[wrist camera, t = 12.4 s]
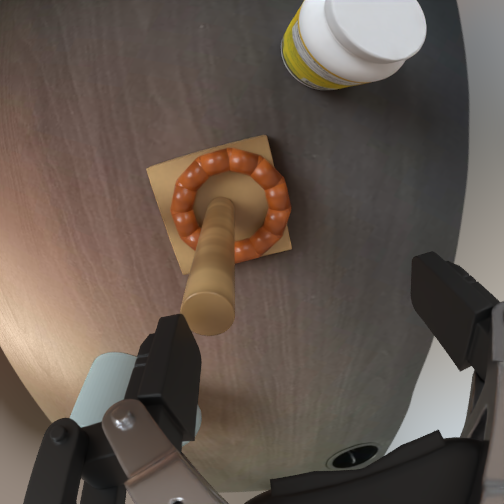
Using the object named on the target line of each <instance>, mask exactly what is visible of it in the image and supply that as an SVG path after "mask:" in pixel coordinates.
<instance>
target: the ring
mask: <svg viewBox="0 0 504 504" xmlns="http://www.w3.org/2000/svg"><path fill="white" fill-rule="evenodd" d="M228 171H232V172H236V173H240V174H244V175H248V176H250V177H251V178H252V179H253V180H254V181H256V182H257V183H258V184H259V185H260V186H261V187H262V188H263V189H264V192H265V196H266V200H267V204H268V211H267V214H266V218H265V221H264V224H263V226H262V227H261V228H259V229H258V230H257V231H256V232H255V233H254V234H253V235H252V236H251V237H250V238H246V239H243V240H239V241H235V264H236V263H240V262H244V261H247V260H251V259H255V258H259V257H261V256H262V255H263V254H264V253H266V252H267V251H268V250H269V249H270V248H271V247H272V246H273V245H274V244H275V243H276V242H278V241H279V240H280V239H281V238H282V236H283V234H284V231H285V228H286V225H287V222H288V218H289V215H290V212H291V203H290V199H289V194H288V190H287V186H286V182H285V179H284V177H283V176H282V175H281V174H280V173H279V172H278V171H277V170H276V169H275V168H274V167H273V166H272V165H271V164H270V163H269V162H268V161H267V160H266V159H265V158H264V157H263V156H261V155H259V154H255V153H251V152H247V151H243V150H239V149H235V148H225V149H221V150H218V151H214V152H211V153H208V154H204V155H201V156H199V157H197V158H196V159H195V160H194V161H193V162H192V163H191V164H190V165H189V166H188V168H187V169H186V170H185V171H184V172H183V173H182V174H181V175H180V176H179V177H178V179H177V180H176V183H175V187H174V192H173V197H172V203H171V208H170V212H171V215H172V218H173V221H174V223H175V226H176V229H177V231H178V234H179V237H180V239H181V240H182V241H183V242H184V243H186V244H187V245H188V246H189V247H190V248H191V249H193V250H194V251H195V250H196V247H197V243H198V239H199V236H200V232H201V229H202V228H200V227H199V225H198V222H197V219H196V216H195V214H194V211H193V206H194V201H195V197H196V192H197V190H198V189H199V188H200V187H201V186H202V185H203V184H204V183H205V182H206V181H207V180H208V179H209V177H211V176H214V175H218V174H221V173H225V172H228Z"/></svg>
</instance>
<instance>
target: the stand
mask: <svg viewBox="0 0 504 504" xmlns="http://www.w3.org/2000/svg"><path fill="white" fill-rule="evenodd" d="M225 148H235V149H239V150H243V151H247V152H251V153H255V154H259V155H261V156H263V157H264V158H265V159H266V160H267V161H268V162H269V163H270V164H271V165H272V166H273V167H274V163H273V159H272V155H271V150H270V146H269V142H268V138H267V136H266V135H261V136H257V137H252V138H248V139H244V140H240V141H236V142H232V143H228V144H224V145H220V146H217V147H213V148H209V149H206V150H202V151H199V152H195V153H192V154H188V155H185V156H181V157H178V158H175V159H172V160H168V161H165V162H162V163H159V164H156V165H153V166H150V167H149V168H147V169H146V170H147V173H148V176H149V180H150V183H151V186H152V189H153V192H154V195H155V198H156V201H157V204H158V207H159V210H160V213H161V216H162V219H163V222H164V224H165V227H166V230H167V233H168V236H169V239H170V241H171V244H172V247H173V250H174V252H175V255H176V258H177V260H178V263H179V266H180V268H181V271H182V274H183V275H185V274H189V277H188V281H187V285H186V288H185V292H184V296H183V300H182V305H181V309H180V314H183V315H184V317H185V318H186V321H187V323H188V325H189V327H190V330H191V331H193V332H195V333H197V334H200V335H204V336H214V335H219V334H221V333H223V332H225V331H226V330H228V329H229V328H230V327H231V325H232V324H233V322H234V319H235V241H239V240H243V239H246V238H250V237H251V236H252V235H253V234H254V233H255V232H256V231H257V230H258V229H259V228H261V227H262V226H263V224H264V221H265V218H266V214H267V211H268V204H267V200H266V196H265V192H264V189H263V188H262V187H261V186H260V185H259V184H258V183H257V182H256V181H254V180H253V179H252V178H251V177H250V176H248V175H244V174H240V173H236V172H232V171H228V172H225V173H221V174H218V175H214V176H211V177H209V179H208V180H207V181H206V182H205V183H204V184H203V185H202V186H201V187H200V188H199V189H198V190H197V192H196V197H195V201H194V206H193V211H194V214H195V216H196V219H197V222H198V225H199V227H200V228H202V229H201V232H200V236H199V239H198V243H197V247H196V250H195V251H194V250H193V249H191V248H190V247H189V246H188V245H187V244H186V243H184V242H183V241H182V240H181V239H180V237H179V234H178V231H177V229H176V226H175V223H174V221H173V218H172V215H171V212H170V208H171V203H172V197H173V192H174V187H175V183H176V180H177V179H178V177H179V176H180V175H181V174H182V173H183V172H184V171H185V170H186V169H187V168H188V166H189V165H190V164H191V163H192V162H193V161H194V160H195V159H196V158H197V157H199V156H201V155H204V154H208V153H211V152H214V151H218V150H221V149H225ZM290 249H292V246H291V241H290V236H289V231H288V227H287V225H286V228H285V231H284V234H283V236H282V238H281V239H280V240H279V241H278V242H276V243H275V244H274V245H273V246H272V247H271V248H270V249H269V250H268V251H267V252H266V253H264V254H263V255H262V256H265V255H269V254H274V253H278V252H282V251H286V250H290Z"/></svg>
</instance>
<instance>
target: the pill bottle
mask: <svg viewBox="0 0 504 504" xmlns="http://www.w3.org/2000/svg"><path fill="white" fill-rule="evenodd" d="M425 37H426V21H425V17H424V14H423V12H422V9H421V7H420V5H419V3H418V2H417V0H304V2H303V3H302V5H301V7H300V8H299V10H298V11H297V13H296V15H295V16H294V18H293V20H292V21H291V23H290V25H289V26H288V28H287V30H286V32H285V34H284V36H283V39H282V43H281V54H282V58H283V61H284V64H285V66H286V68H287V69H288V71H289V72H290V73H291V75H292V76H293V77H294V78H295V79H297V80H298V81H299V82H301V83H302V84H304V85H306V86H308V87H310V88H314V89H318V90H336V89H341V88H345V87H350V86H354V85H359V84H365V83H370V82H375V81H379V80H382V79H385V78H387V77H389V76H391V75H393V74H394V73H395V72H396V71H397V70H398V69H399V68H400V67H401V66H402V65H403V63H404V62H405V60H406V59H408V58H410V57H412V56H413V55H415V54H416V53H417V52H418V51H419V50H420V48H421V47H422V45H423V43H424V40H425Z"/></svg>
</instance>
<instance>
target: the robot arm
mask: <svg viewBox="0 0 504 504" xmlns="http://www.w3.org/2000/svg"><path fill="white" fill-rule="evenodd" d="M411 300H412V304H413V307H414V309H415V311H416V312H417V313H418V314H419V316H420V317H421V318H422V320H423V321H424V322H425V324H426V325H427V326H428V328H429V329H430V330H431V332H432V333H433V334H434V336H435V337H436V338H437V340H438V341H439V342H440V344H441V345H442V346H443V348H444V349H445V350H446V352H447V353H448V355H449V356H450V358H451V359H452V360H453V362H454V363H455V365H456V366H457V368H458V369H459V370H460V371H462V370H464V369H466V368H468V367H470V366H472V367H473V368H474V369H475V370H474V373H473V377H472V384H471V391H470V398H469V405H468V410H467V416H466V421H465V425H464V428H463V431H462V433H461V436H460V437H459V438H457V437H456V438H455V437H454V438H445V439H443V437H442V436H441V433H440V432H439V430H437V431H434V432H432V433H430V434H428V435H425V436H423V437H420V438H418V439H416V440H413V441H411V442H408V443H406V444H403V445H401V446H400V447H398V448H396V449H395V450H393V451H392V452H390V453H388V454H387V455H385V456H384V457H382V458H380V459H379V460H377V461H375V462H374V463H372V464H370V465H368V466H367V467H365V468H362V469H357V470H342V471H313V472H309V473H304V474H299V475H294V476H288V477H283V478H277V479H270V483H271V490H268V491H266V492H263V493H261V494H259V495H257V496H255V497H254V498H252V499H250V500H249V501H247V502H246V503H245V504H504V302H499V301H498V300H497V299H496V298H495V297H494V296H493V295H492V294H491V293H490V292H489V291H487V290H486V289H485V288H484V287H483V286H482V285H481V284H480V283H479V282H476V280H475V279H474V278H473V277H472V276H469V274H468V273H467V272H466V271H465V270H464V269H463V268H461V267H460V266H458V265H456V264H453V263H451V262H449V261H444V260H443V259H442V258H441V257H440V256H439V255H437V254H436V253H435V252H428V253H425V254H422V255H418V256H415V257H413V259H412V275H411ZM137 357H138V358H136V361H135V364H134V366H135V367H134V368H133V371H132V374H131V377H130V380H129V383H128V386H127V390H126V393H125V396H124V400H121V401H118V402H117V403H115V404H113V405H112V406H111V407H110V408H109V409H108V410H107V411H106V412H105V414H104V416H103V419H102V422H98V423H95V424H92V425H89V426H85V427H82V428H81V427H80V426H79V425H78V424H77V423H76V422H75V421H74V420H73V419H70V418H62V419H59V420H57V421H55V422H54V423H52V424H51V425H50V426H49V427H48V429H47V430H46V432H45V434H44V437H43V440H42V443H41V446H40V449H39V452H38V455H37V458H36V461H35V464H34V467H33V471H32V474H31V477H30V481H29V484H28V488H27V491H26V495H25V499H24V503H23V504H76V500H77V494H78V489H79V484H80V479H81V478H82V479H83V480H84V485H83V490H82V496H81V501H80V504H125V498H126V490H127V491H128V493H129V495H130V496H131V498H132V500H133V501H134V503H135V504H228V502H227V501H226V500H224V498H222V497H221V496H220V495H219V494H218V492H217V491H216V490H215V489H214V488H213V487H212V486H211V485H210V484H209V483H208V482H207V481H206V480H205V478H204V477H203V476H202V475H201V474H200V473H199V472H198V470H197V469H196V468H195V467H194V466H193V465H192V463H191V462H190V461H189V460H188V459H187V457H186V456H185V455H184V454H183V453H182V452H181V450H182V442H185V441H195V428H196V416H197V405H198V394H199V383H200V373H201V354H200V350H199V347H198V345H197V343H196V341H195V339H194V336H193V334H192V332H191V330H190V327H189V325H188V323H187V321H186V318H185V317H184V315H183V314H176V315H171V316H166V317H161V318H160V319H159V322H158V325H157V329H156V332H155V333H154V334H149V336H148V337H147V338H146V339H145V341H144V342H143V343H142V344H141V346H140V349H139V352H138V355H137Z"/></svg>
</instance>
